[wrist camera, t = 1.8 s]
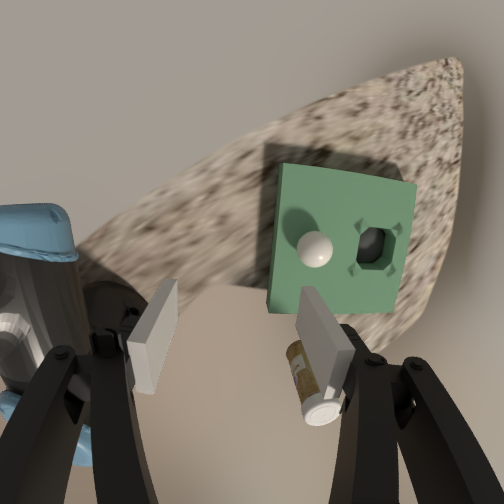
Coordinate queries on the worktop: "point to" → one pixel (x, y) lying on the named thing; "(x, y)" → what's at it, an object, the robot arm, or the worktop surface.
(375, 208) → the putting board
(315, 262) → the ball
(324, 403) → the sprinkles bottle
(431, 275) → the worktop surface
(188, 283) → the worktop surface
